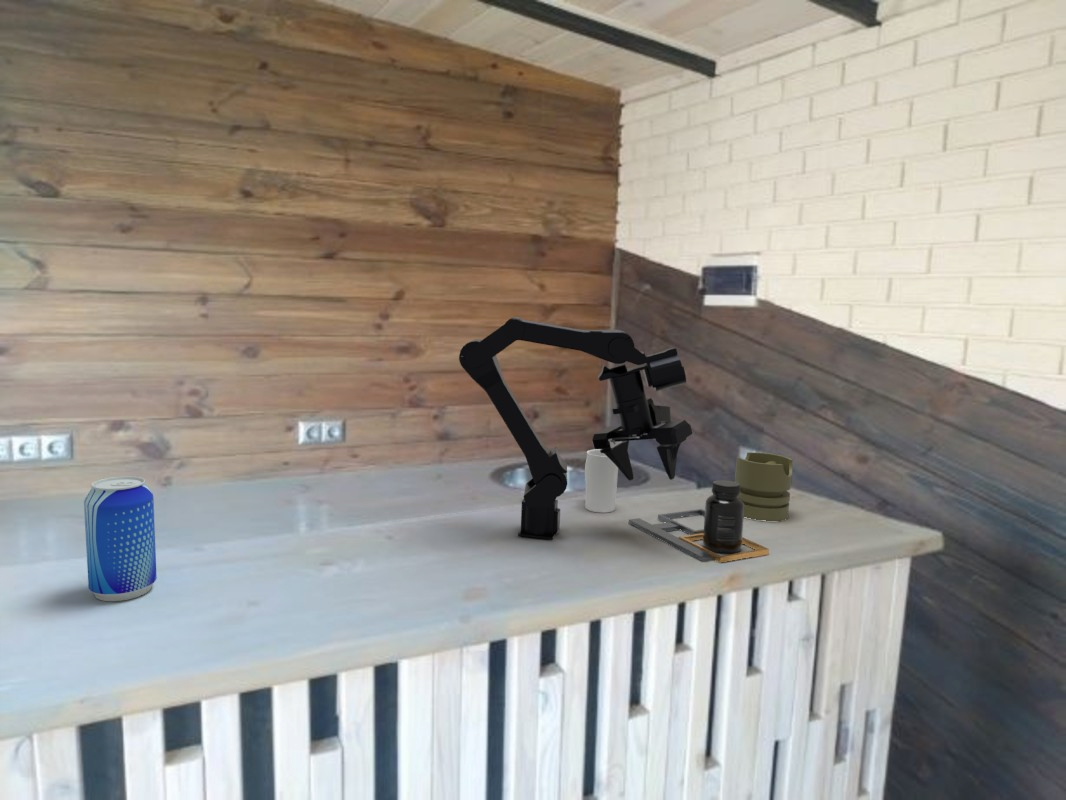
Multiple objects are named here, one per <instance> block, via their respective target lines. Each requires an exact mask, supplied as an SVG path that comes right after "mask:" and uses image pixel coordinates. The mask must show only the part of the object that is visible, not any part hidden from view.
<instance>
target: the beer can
mask: <svg viewBox="0 0 1066 800" xmlns="http://www.w3.org/2000/svg"><path fill="white" fill-rule="evenodd" d="M90 488H91V489H90V490H89V492H88V493H87V495H86V497H85V498H84V500H83V510H84V526H85V527H84V528H85V543H86V544H85V545H86V561H87V562H86V564H87V565H86V567H87V580H88V581H87V582H88V590H89V592H91V593H93V594H94V596H95V598H96V599H98V600H99V601H100V600H101V601H104V602H121V601H122V602H123V601H127V600H131V599H136V598H139V597H141V595H142V596H143V595H145V594H147V593H148V592H150V590H151V588H152V586H153V585H154V584H155V582H156V581H157V579H158V576H157V555H156V554H157V553H156V531H155V530H156V529H155V528H156V527H155V508H154V506H155V505H154V504H155V503H154V502H155V501H154V494H153V492H152V491H151V489H150V488H149V487H148V486H147V484H146V479H145V478H144V477H139V476H133V475H132V476H131V475H130V476H129V475H127V476H126V475H125V476H112V477H106V478H103V479H98V480H95V481H92V482H91V484H90Z"/></svg>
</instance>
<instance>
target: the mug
mask: <svg viewBox="0 0 1066 800" xmlns="http://www.w3.org/2000/svg"><path fill="white" fill-rule="evenodd" d="M600 450H601V449H589V450H587V451H586V461H585V464H584V465H585V466H584V479H585V503H584V504H585V506H584V507H585V509H586V510H587V511H589V512H594V513H598V514H600V513H601V514H605V513H606V514H607V513H612V512H614V511H615V509H616V500H617V486H618V474H619V468H618V467H617V466H616V465H615V464H614V463H613V462H612V461H611V460H610V459H609V458H608V457H607V456H606V455H605V454H604V453H601V452H600Z"/></svg>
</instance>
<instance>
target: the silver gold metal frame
mask: <svg viewBox="0 0 1066 800" xmlns="http://www.w3.org/2000/svg"><path fill="white" fill-rule="evenodd" d="M699 514H700V515H699ZM690 515H695V516H702V515H703V516H702V517H705V509H703V508H699V509H691V510H684V511H677V512H668V513H661V514H657V520H658V519H659V520H658V521H660V520H661V521H660V522H662V521H663V523H656V524H655V523H654V524H652V523H651V522H647V521H646V520H644V519H642V518H630V519H628V524H629V525H631V526H633V525H634V526H636V527H637V529H638V528H639V529H638V530H640V529H641V530H640V531H642V530H643V532H644V531H645V532H644V533H646V532H647V533H646V534H648V533H649V534H648V535H650V534H651V535H650V536H652V535H653V536H652V537H654V536H655V537H654V538H656V537H657V538H656V539H658V538H659V539H658V540H660V539H661V540H663V541H665V542H667V543H668V545H669V544H670V545H669V546H671V545H672V546H671V547H673V546H674V548H675V547H676V548H675V549H677V548H678V549H677V550H679V549H680V550H679V551H681V550H682V551H681V552H683V553H685V554H686V553H687V555H688V554H689V556H690V555H691V556H690V557H692V556H693V558H694V557H695V558H694V559H696V558H697V559H696V560H698V561H700V562H701V563H705V562H711V561H715V560H716V561H715V562H717V561H718V562H717V563H719V562H720V563H719V564H722V563H721V562H724V563H728V562H727V561H730V562H733V561H732V560H735V561H738V560H737V559H741V560H743V559H742V558H746V559H750V558H749V557H752V558H757V557H762V556H768V555H770V549H769V548H767V547H765V546H763V545H761V544H759V543H756V542H755V541H751V540H749V539H747V538H745V537H743V536H742V545H743V544H745V545H747V546H746V547H748V546H749V547H748V548H750V547H751V548H750V549H752V548H753V549H752V550H747V551H746V550H745V551H742V552H741V551H740V552H735V553H728V554H723V555H721V554H718V553H717V552H715V551H711V550H709V549H707V548H705V546H702V545H700V544H698V543H696V542H695V541H694V540H697V541H701V540H700V539H703V532H704V528H702V529H696V530H695V529H693V528H691V527H688V526H687V525H684V524H682V523H679V522H678V521H675V520H673V519H675V518H674V517H680V518H682V517H681V516H688V517H691V516H690ZM669 518H673V519H669ZM664 522H666V523H664ZM634 526H633V527H634ZM636 527H635V528H636ZM675 529H681V530H683V531H685V532H687V533H689V534H690V535H689V534H687V533H686V534H687V535H682V536H676V535H674V534H672V533H670V532H671V531H670V530H675ZM681 530H680V531H681ZM666 531H668V532H666ZM675 531H676V530H675ZM683 531H682V532H683ZM685 532H684V533H685ZM661 540H660V541H661ZM663 541H662V542H663ZM665 542H664V543H665ZM667 543H666V544H667ZM745 545H744V546H745ZM754 549H755V550H754ZM710 560H711V561H710Z"/></svg>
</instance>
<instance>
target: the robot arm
mask: <svg viewBox="0 0 1066 800" xmlns="http://www.w3.org/2000/svg"><path fill="white" fill-rule="evenodd" d="M517 341H523V342H529V343H534V344H540V345H546V346H550V347H551V346H552V347H556V348H557V347H558V348H563V349H569V350H574V351H581V352H583V353H586V354H588V355H590V356H592V357H595V358H597V359H600V360H604V361H607V362H609V363H612V364H615V365H616V364H617V366H613V367H609V366H607V365H605V364H604V365H602V369H601V370H600V373H599V374H598V375H597V378H598V380H599V381H600V382H602V381H606V380H609V384H610V387H611V392H612V395H613V399H614V402H615V407H614V408H612V409H611V410H612V413H613V415H618V418H619V422H620V425H616V426H615V425H614V426H607V427H605V428H603V429H600V430H599V431H597V432H595V433H593V436H592V440H591V441H592V446H593V450H595V449H601V450H600V452H601V453H604V454H605V455H606V456H607V457H608V458H609V459H610V460H611V461H612V462H613V463H614V464H615V465H616V466H617V467H618V471H620V472H621V473H622V474H623V475H624V477H625V478H626V479H627V480H628V481H629V482H631V481H633V480H634V472H633V471H634V470H633V467H632V464H631V460H630V456H629V452H628V450H629V449H628V448H629V444H630V441H641V440H642V441H643V440H653V439H655V442H656V443H658V444H659V445H658V446H656V450H657V452H658V455H659V457H660V459H661V463H662V465H663V468H664V471H665V473H666V474H667V477H668V479H669V480H670V481H671V480H672V481H673V479H675V477H676V468H677V459H678V453H679V449H680V446H681V445H682V443H683V442H685V441H686V440H687V438H688V437H689V436H691V435H693V430H692V425H691V424H690V423H689V422H688V421H687V420H686V419H680V420H679V419H678V420H672V418H671V416H672V415H671V406H669V405H667V406H665V405H655V404H654V400H653V399H652V397H647V393H646V389H645V386H644V382H643V379H642V378H643V377H642V374H641V371H642V372H643V375H644V380H645V383H646V387H647V388H652V389H654V391H655V392H659V391H662V390H666V389H669V388H670V389H671V388H673V387H678V386H682V385H684V384H687V377H686V371H685V367H684V365H682V361H681V358H680V356H679V354H678V350H677V348H675V347H669V348H667V349H665V350H662V351H660V352H656V353H655V352H654V353H652V354H648V355H646V354H645V352H644V351H642V350H638V349H637V348H636V347H635V343H634V339H633V338H632V337H631V336H630V334H628V333H627V332H625V331H623V330H621V329H578V328H574V327H573V328H572V327H567V326H560V325H556V324H555V325H554V324H551V323H550V324H549V323H543V322H538V321H532V320H527V319H523V318H521V317H518V316H517V317H516V316H515V317H511V318H509V319H508V320H507V321H505V324H503V325H501V326H500V327H498V328H497V329H495V330H494V331H493V332H492V333H490V334H489V335H487V336H486V337H484V338H483V339H482V338H479V339H478V338H477V339H473V340H471V341H469V342H467V343H466V344H465V345H463V346H462V348H461V350H459V351H460V352H459V355H458V360H459V364H460V366H461V367H462V369H463V370H465V372H466V373H467V374H468V376H469V377H470V378H471V379H472V380H473V381H474V382H475V384H477V385H479V387H480V388H482V390H483V391H484V392H485V393H486V394H487V396H488V397H489V399H490V401H491V402H492V404H493V406H494V408H495V409H496V411H497V412H498V415H500V417H501V418H502V420H503V422H504V424H505V425H506V427H507V428H508V431H509V432H510V434H511V436H512V437H513V438H514V440H515V442H516V444H517V445H518V447H519V448H520V450H521V451H522V453H523V454H524V457H525V460H526V462H527V465H528V469H529V472H530V475H531V479H530V480H529V481H528V480H527V482H526V483H525V486H524V493H523V499H522V500H521V511H520V512H521V514H520V515H521V516H520V530H519V531H518V533H517V535H518V536H519V537H527V538H535V539H542V540H554V538H555V536H556V535H557V534H558V532H559V531H560V523H561V509H560V508H558V504H559V503H558V502H559V500H558V499H557V498H558V497H561V495H563V494H564V493H565V491H566V490H567V486H568V463H567V462H566V461H564V459H563V458H562V457H561V455H560V452H559V450H558V448H557V446H554V447H553V448H552V449H551V450H550V449H549V448H548V447H547V446H546V445H545V444H544V443H543V441H542V440H541V438H540V436H539V435H538V434H537V431H536V430H535V428H534V427H533V425H532V423H531V422H530V420H529V418H528V417H527V415H526V414H525V412H524V410H523V408H522V407H521V405H520V403H519V402H518V400H517V398H516V397H515V395H514V394H513V392H512V391H511V389H510V387H509V386H508V384H507V382H506V380H505V377H504V375H503V371H502V369H501V366H500V362H499V359H498V357H497V355H498V354H499V353H501V352H502V351H504V350H505V349H506V348H508V347H509V346H511V345H512V344H513V343H515V342H517ZM626 362H627V363H631V364H632V365H636V366H634V367H627V366H626V364H625V363H626ZM620 364H621V365H620ZM661 424H662V425H661ZM658 426H659V427H658Z"/></svg>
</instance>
